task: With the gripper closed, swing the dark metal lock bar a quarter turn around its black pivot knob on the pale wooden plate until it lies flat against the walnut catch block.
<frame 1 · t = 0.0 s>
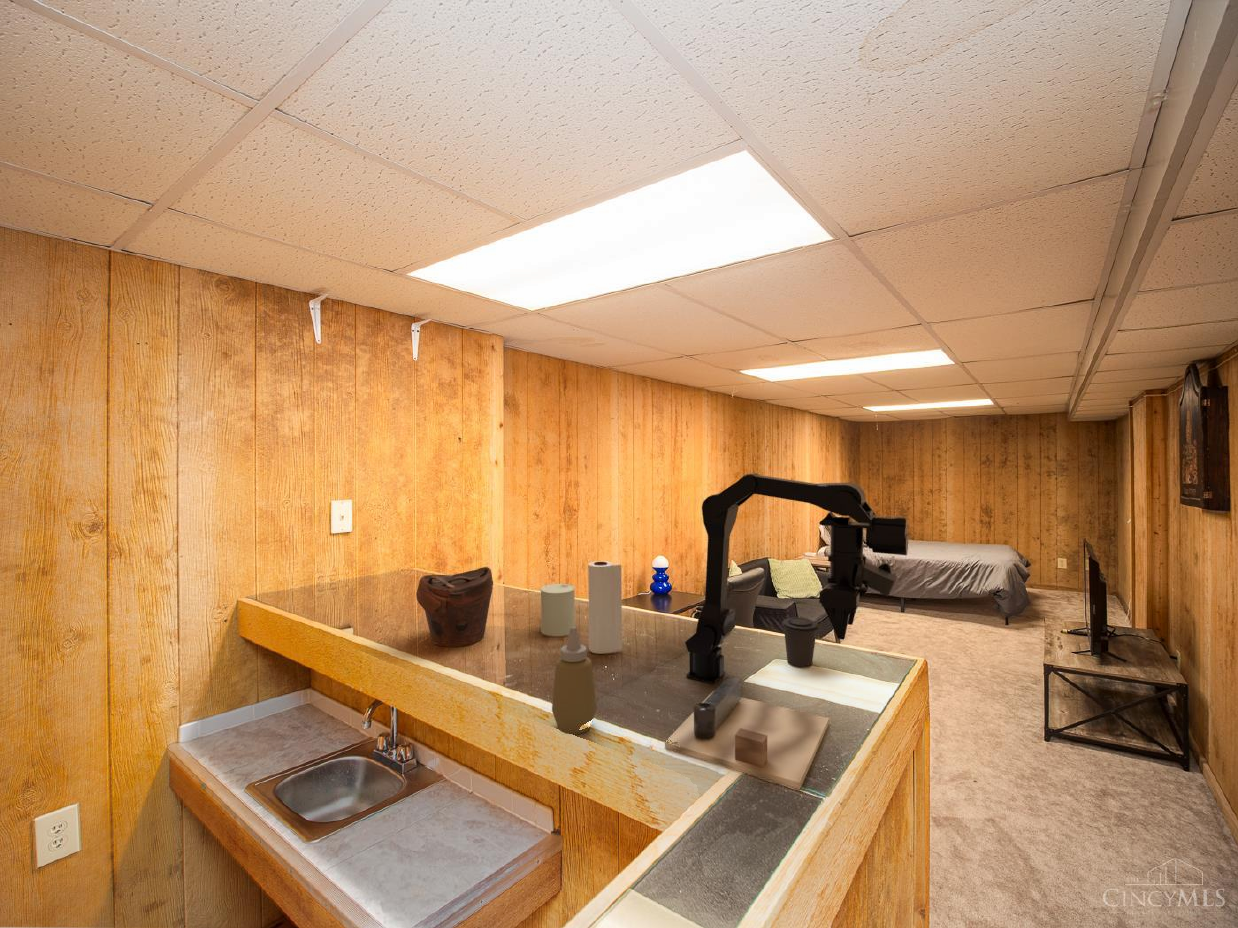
hand: (845, 631, 107), 15 cm above the counter, tool pointing down, fingers open, 9 cm apart
squeeze bottle: (574, 728, 101), on the counter
lock plate: (750, 735, 98), on the counter
catch block: (751, 760, 89), resting on lock plate
can: (558, 631, 152), on the counter
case: (457, 639, 146), on the counter
swing bar: (718, 704, 101), point 4 cm above the counter, hinge at 0.0°
coffee cup: (799, 664, 129), on the counter
paper towel roll: (602, 651, 137), on the counter
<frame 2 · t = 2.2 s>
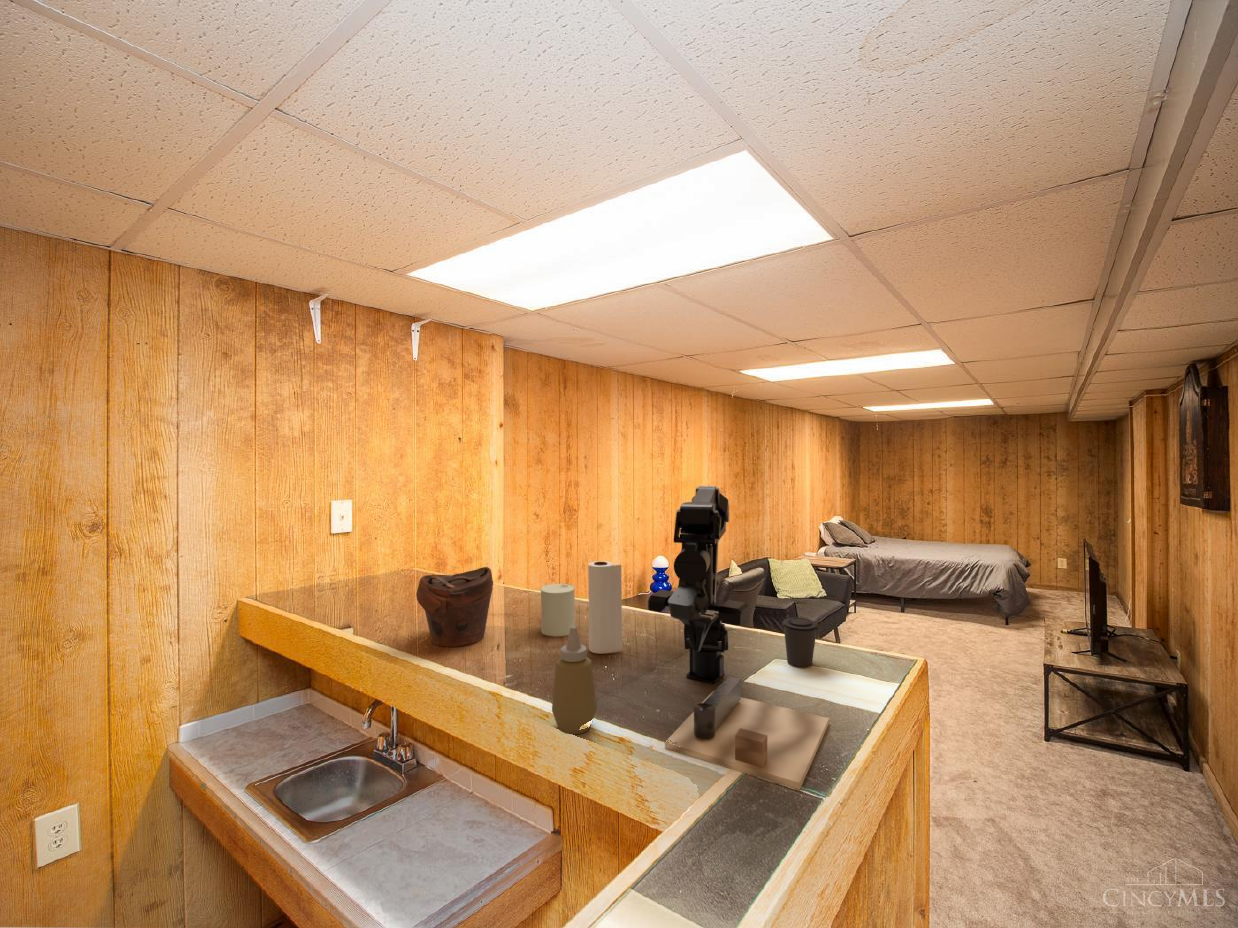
hand: (697, 650, 108), 11 cm above the counter, tool pointing down, fingers closed
nothing on the counter moved.
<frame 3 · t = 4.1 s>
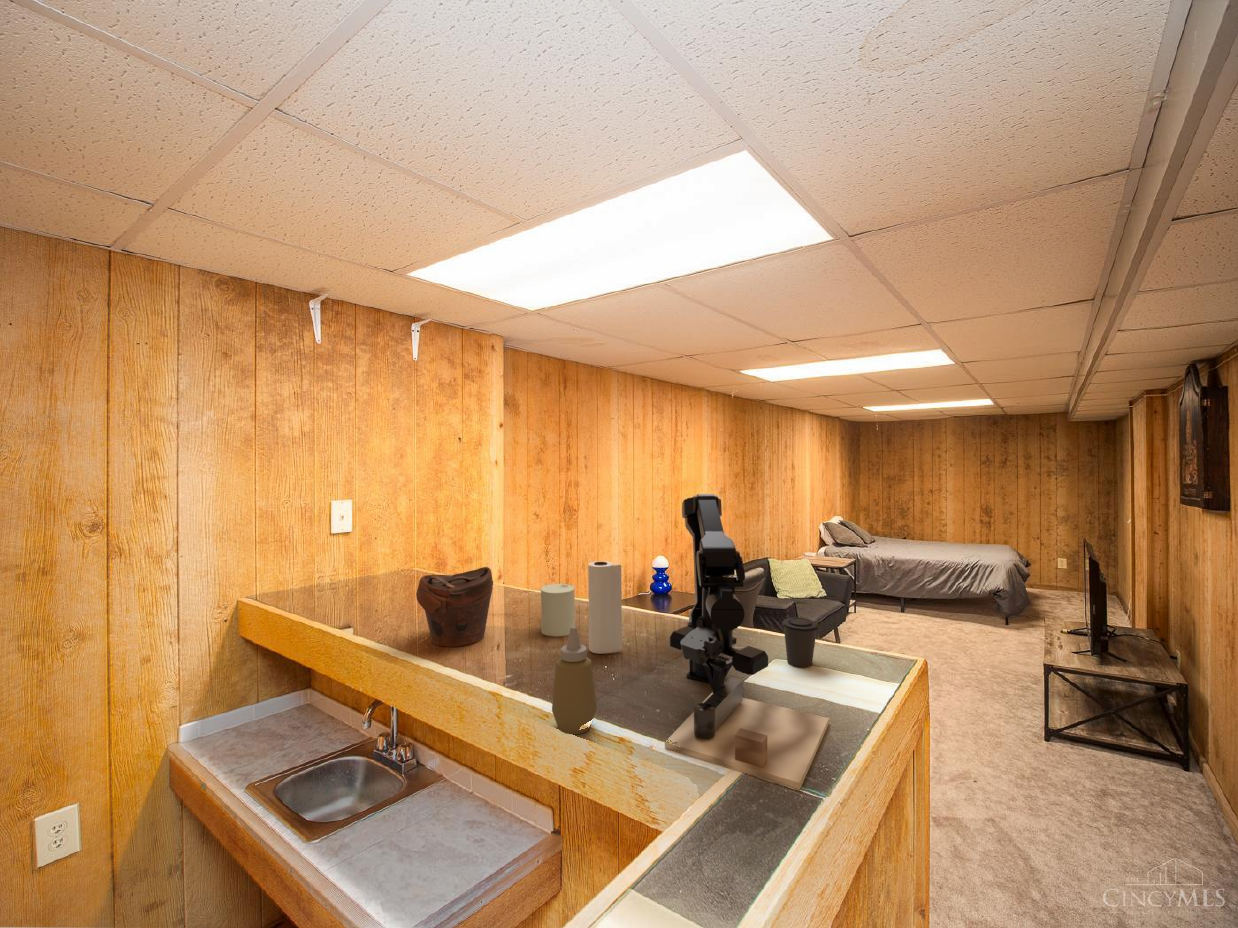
hand: (715, 693, 106), 4 cm above the counter, tool pointing down, fingers closed
swing bar: (719, 705, 101), point 4 cm above the counter, hinge at -2.0°, touching gripper
everything else where it was.
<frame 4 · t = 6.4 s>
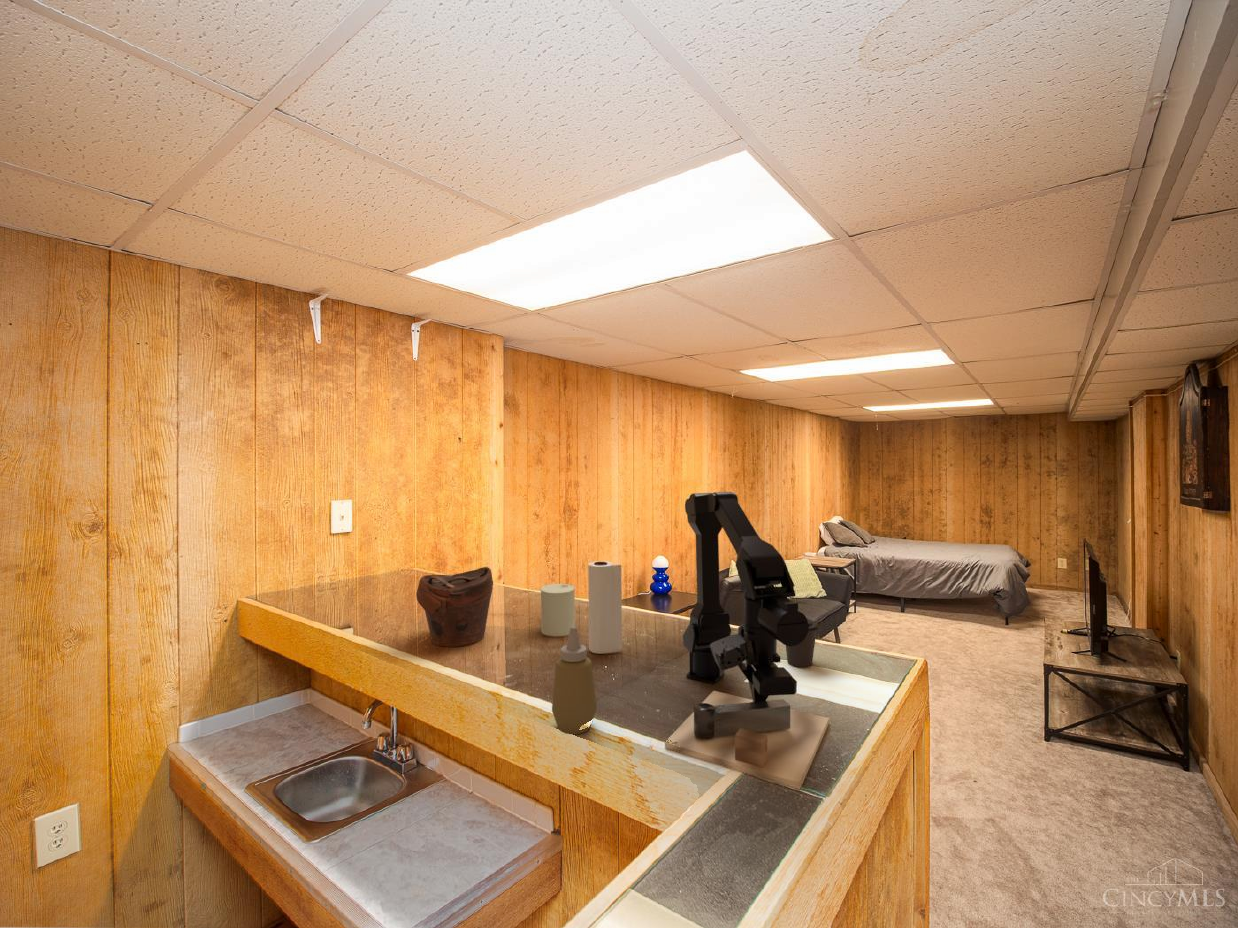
hand: (757, 708, 100), 4 cm above the counter, tool pointing down, fingers closed
swing bar: (741, 717, 97), point 4 cm above the counter, hinge at -49.0°, touching gripper
everything else where it was.
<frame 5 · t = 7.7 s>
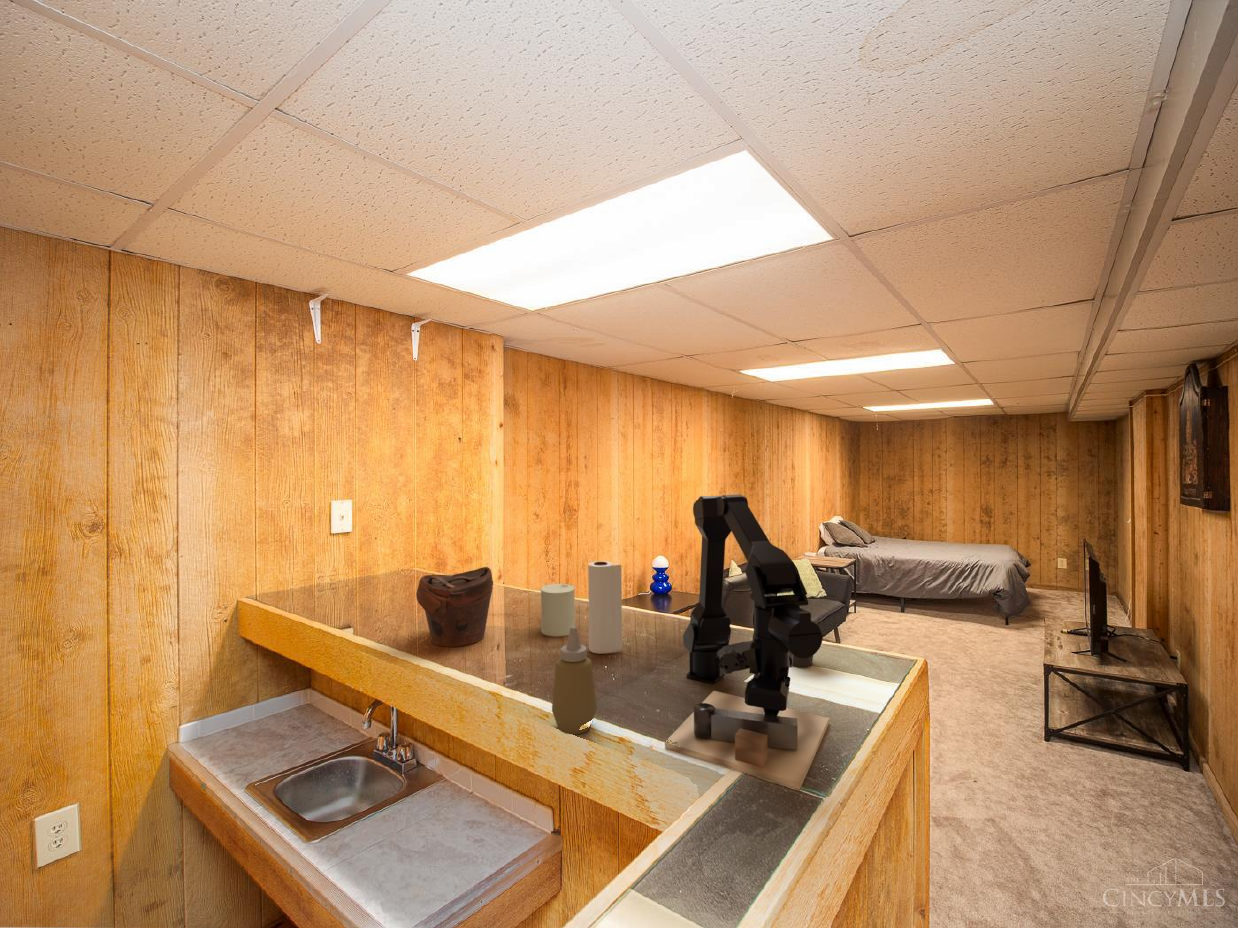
hand: (770, 722, 95), 4 cm above the counter, tool pointing down, fingers closed
swing bar: (744, 726, 94), point 4 cm above the counter, hinge at -75.1°, touching gripper
everything else where it was.
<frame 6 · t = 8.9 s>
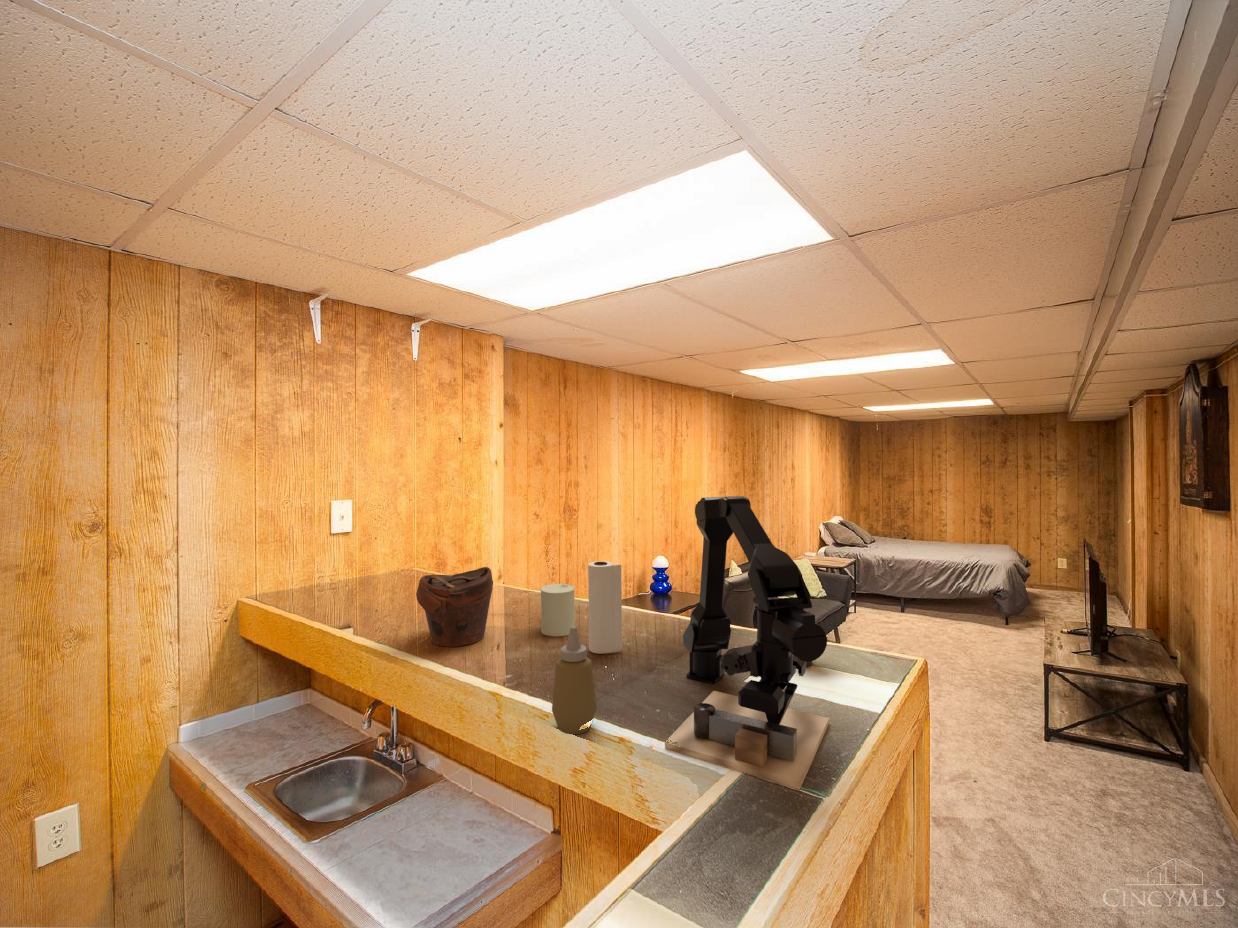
hand: (773, 729, 93), 3 cm above the counter, tool pointing down, fingers closed
swing bar: (742, 730, 93), point 4 cm above the counter, hinge at -88.1°
everything else where it was.
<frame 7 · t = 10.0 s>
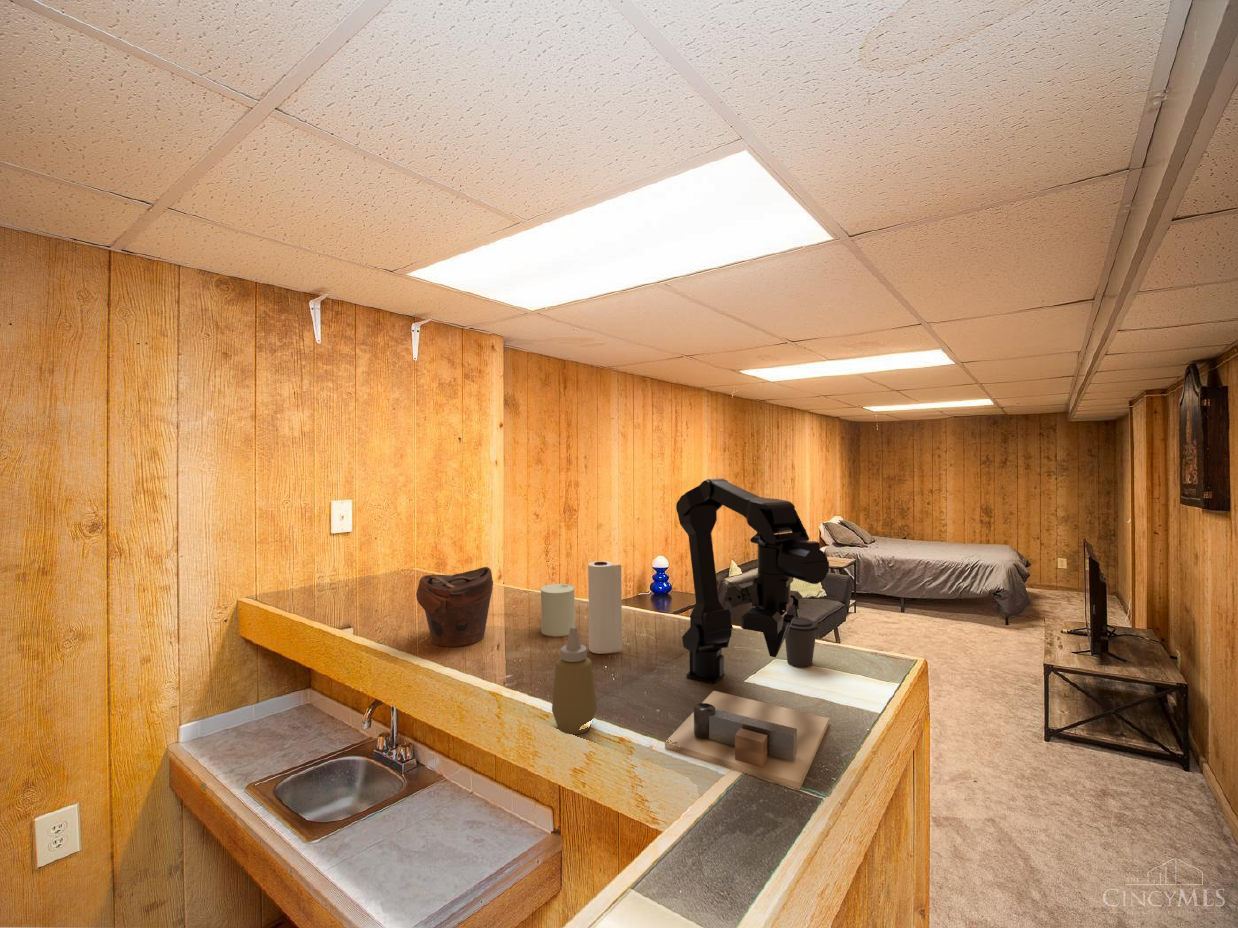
hand: (773, 656, 102), 12 cm above the counter, tool pointing down, fingers closed
nothing on the counter moved.
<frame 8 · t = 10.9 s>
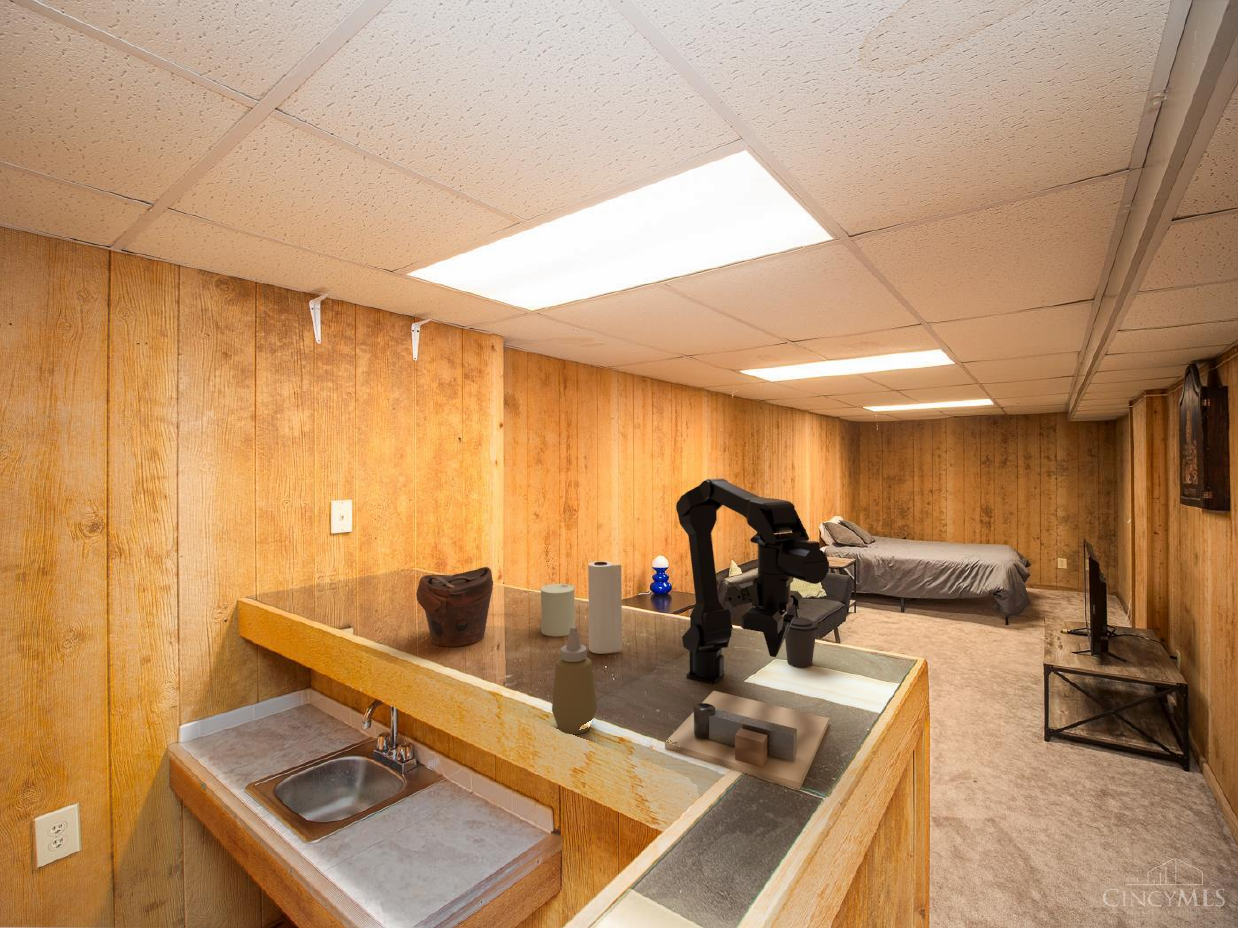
hand: (773, 656, 102), 12 cm above the counter, tool pointing down, fingers closed
nothing on the counter moved.
at the end: swing bar at -88° (first picture: +0°) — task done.
